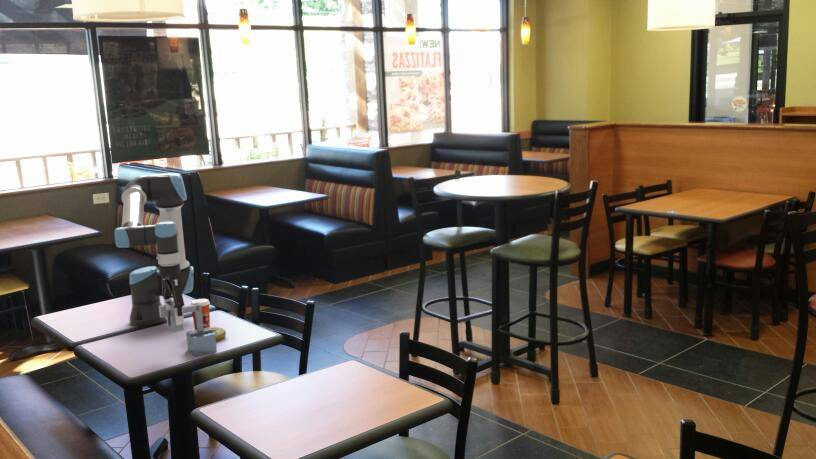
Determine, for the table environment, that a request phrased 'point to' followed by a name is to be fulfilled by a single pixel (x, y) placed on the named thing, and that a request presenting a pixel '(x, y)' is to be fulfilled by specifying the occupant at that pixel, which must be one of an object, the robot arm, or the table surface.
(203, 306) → the paper cup
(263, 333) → the table surface
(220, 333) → the decorated donut
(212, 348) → the hook
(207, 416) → the table surface
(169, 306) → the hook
